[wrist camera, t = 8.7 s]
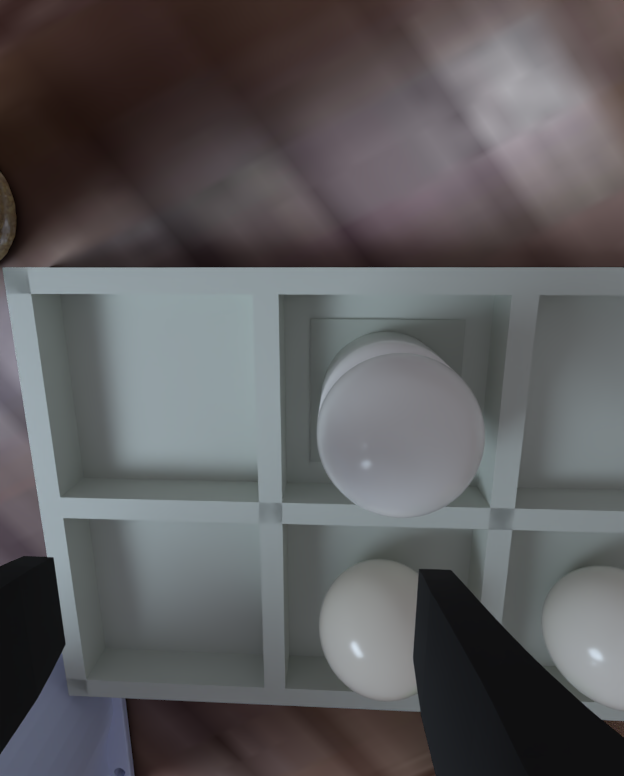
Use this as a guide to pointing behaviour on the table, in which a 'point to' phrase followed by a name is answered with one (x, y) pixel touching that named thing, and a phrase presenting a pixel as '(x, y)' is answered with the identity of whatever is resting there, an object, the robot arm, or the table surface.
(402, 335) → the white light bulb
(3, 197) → the sprinkles bottle
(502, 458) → the egg tray
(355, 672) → the cream egg middle
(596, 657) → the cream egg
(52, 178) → the table surface
